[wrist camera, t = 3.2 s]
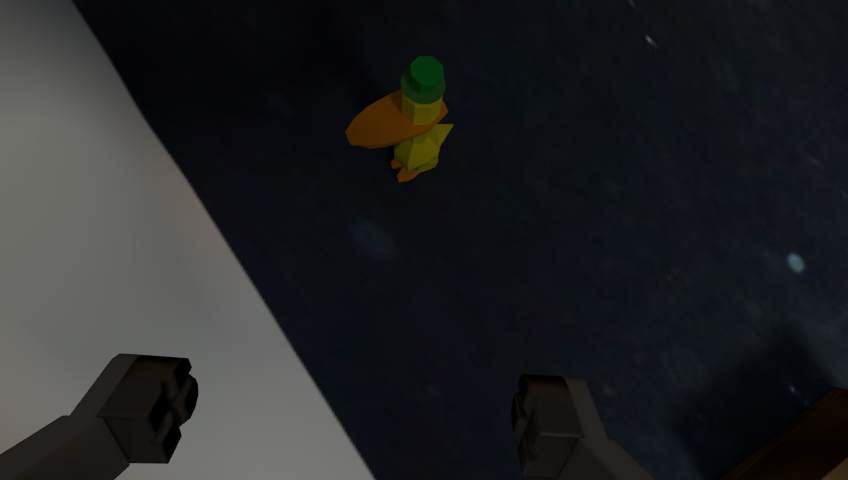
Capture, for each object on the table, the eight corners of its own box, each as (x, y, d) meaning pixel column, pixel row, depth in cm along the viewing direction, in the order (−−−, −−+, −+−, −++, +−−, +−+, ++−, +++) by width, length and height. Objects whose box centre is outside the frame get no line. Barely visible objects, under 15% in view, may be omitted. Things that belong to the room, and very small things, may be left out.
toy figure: (372, 208, 30) (355, 139, 18) (351, 164, 31) (322, 70, 19) (457, 170, 31) (492, 81, 19) (435, 128, 32) (457, 16, 20)
